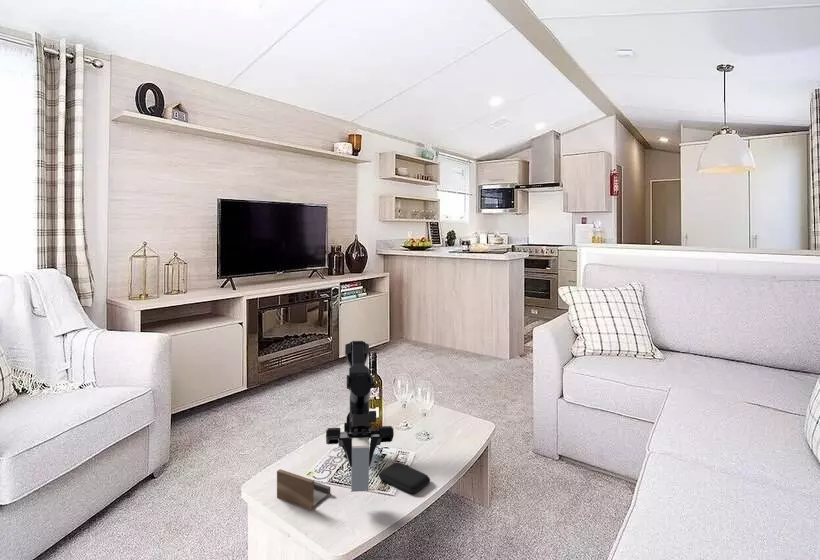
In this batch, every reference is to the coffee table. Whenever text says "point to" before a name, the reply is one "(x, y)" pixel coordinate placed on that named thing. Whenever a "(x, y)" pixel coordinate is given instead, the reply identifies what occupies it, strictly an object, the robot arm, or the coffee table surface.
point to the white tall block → (360, 464)
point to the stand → (300, 490)
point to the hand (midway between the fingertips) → (360, 466)
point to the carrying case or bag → (404, 478)
